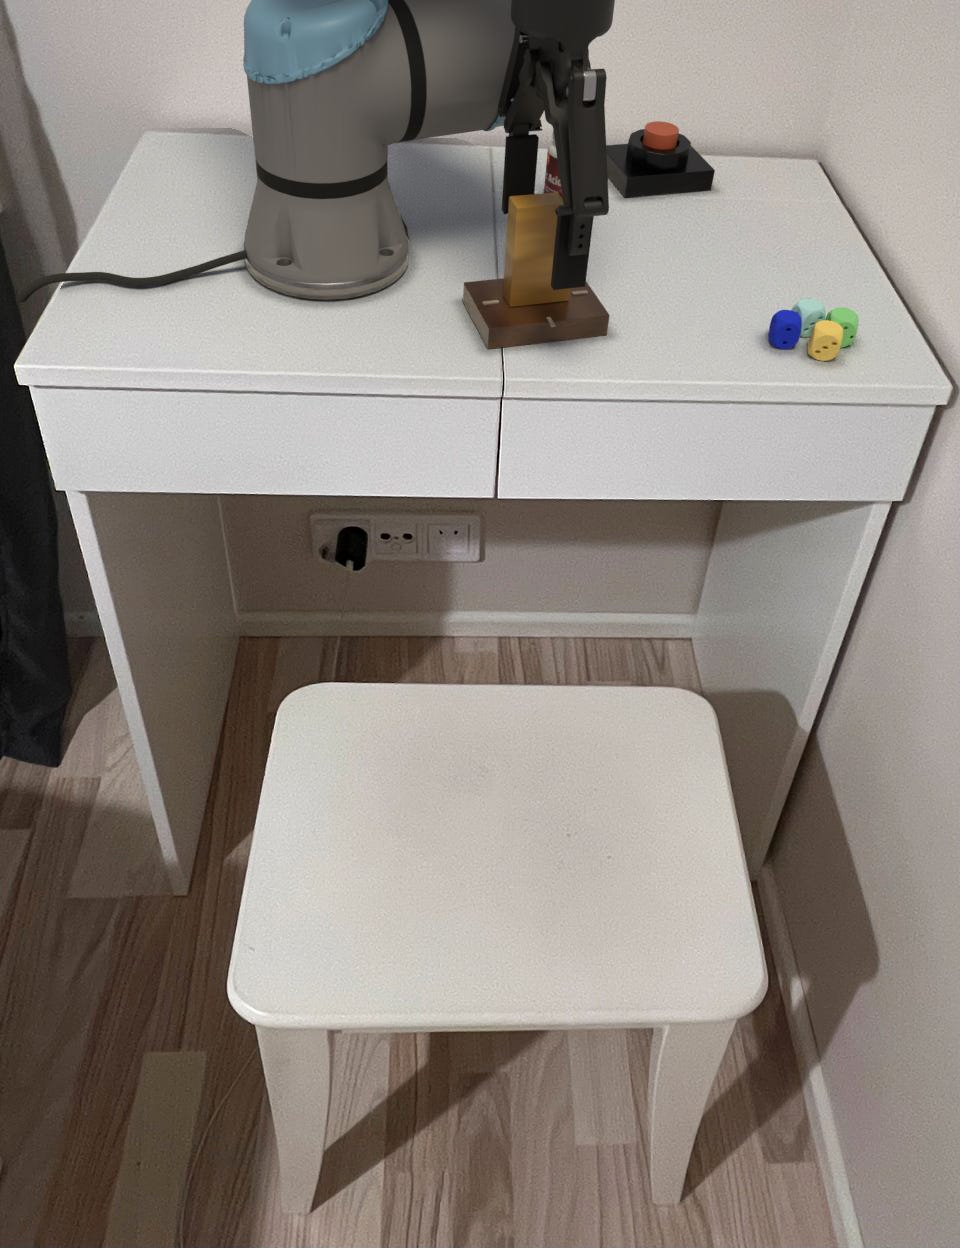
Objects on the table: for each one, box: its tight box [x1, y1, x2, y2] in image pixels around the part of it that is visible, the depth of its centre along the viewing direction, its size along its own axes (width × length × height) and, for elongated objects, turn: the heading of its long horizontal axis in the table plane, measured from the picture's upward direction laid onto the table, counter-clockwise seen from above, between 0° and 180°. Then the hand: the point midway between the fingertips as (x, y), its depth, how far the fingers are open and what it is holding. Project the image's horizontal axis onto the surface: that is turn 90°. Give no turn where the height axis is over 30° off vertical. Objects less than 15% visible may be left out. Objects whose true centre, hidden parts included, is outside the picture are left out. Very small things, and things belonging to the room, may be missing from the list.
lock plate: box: [462, 277, 610, 350], centre depth 99 cm, size 11×10×2 cm
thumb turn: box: [503, 190, 570, 307], centre depth 95 cm, size 6×2×9 cm, turn 106°
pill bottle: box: [543, 130, 561, 193], centre depth 112 cm, size 5×5×8 cm
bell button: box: [643, 120, 680, 150], centre depth 118 cm, size 4×4×2 cm
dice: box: [768, 298, 859, 362], centre depth 98 cm, size 8×3×6 cm
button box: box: [606, 128, 716, 199], centre depth 120 cm, size 10×8×4 cm
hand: (541, 247), depth 95 cm, fingers open, 13 cm apart
